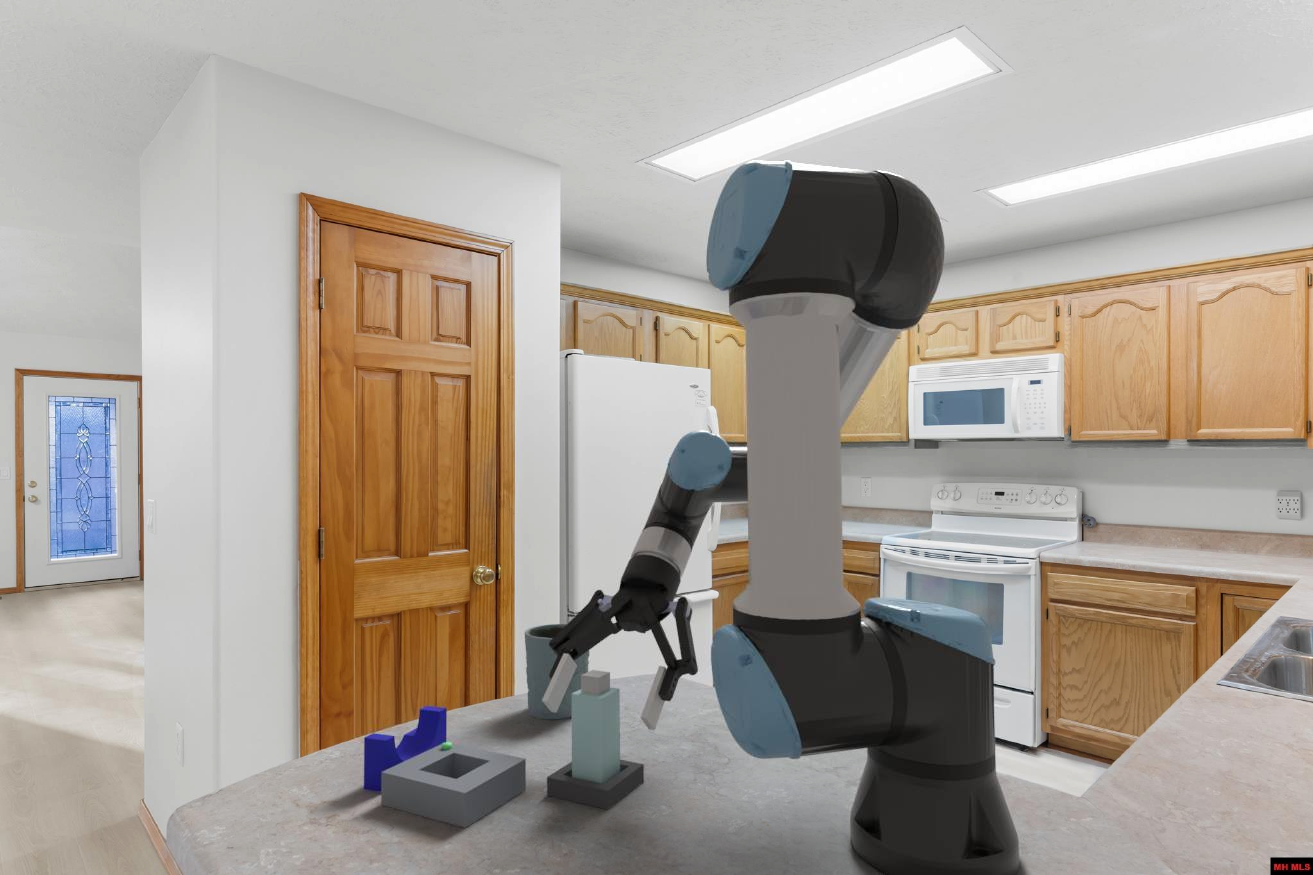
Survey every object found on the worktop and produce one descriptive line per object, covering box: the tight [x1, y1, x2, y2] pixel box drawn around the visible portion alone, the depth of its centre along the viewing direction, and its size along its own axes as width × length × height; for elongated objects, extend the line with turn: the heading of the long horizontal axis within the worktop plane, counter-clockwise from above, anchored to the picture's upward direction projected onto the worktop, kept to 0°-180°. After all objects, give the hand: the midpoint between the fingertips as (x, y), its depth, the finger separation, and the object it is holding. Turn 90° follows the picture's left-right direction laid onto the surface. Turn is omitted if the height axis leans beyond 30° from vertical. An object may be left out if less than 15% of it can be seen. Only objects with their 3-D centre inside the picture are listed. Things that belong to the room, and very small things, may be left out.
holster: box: [546, 758, 645, 811], centre depth 86 cm, size 8×8×2 cm
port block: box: [380, 741, 527, 829], centre depth 84 cm, size 12×10×4 cm
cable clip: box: [363, 705, 448, 793], centre depth 92 cm, size 12×4×6 cm, turn 162°
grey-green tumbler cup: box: [524, 623, 590, 720], centre depth 114 cm, size 10×10×12 cm
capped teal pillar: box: [571, 669, 621, 784], centre depth 86 cm, size 4×4×13 cm
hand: (596, 715), depth 87 cm, fingers open, 13 cm apart
